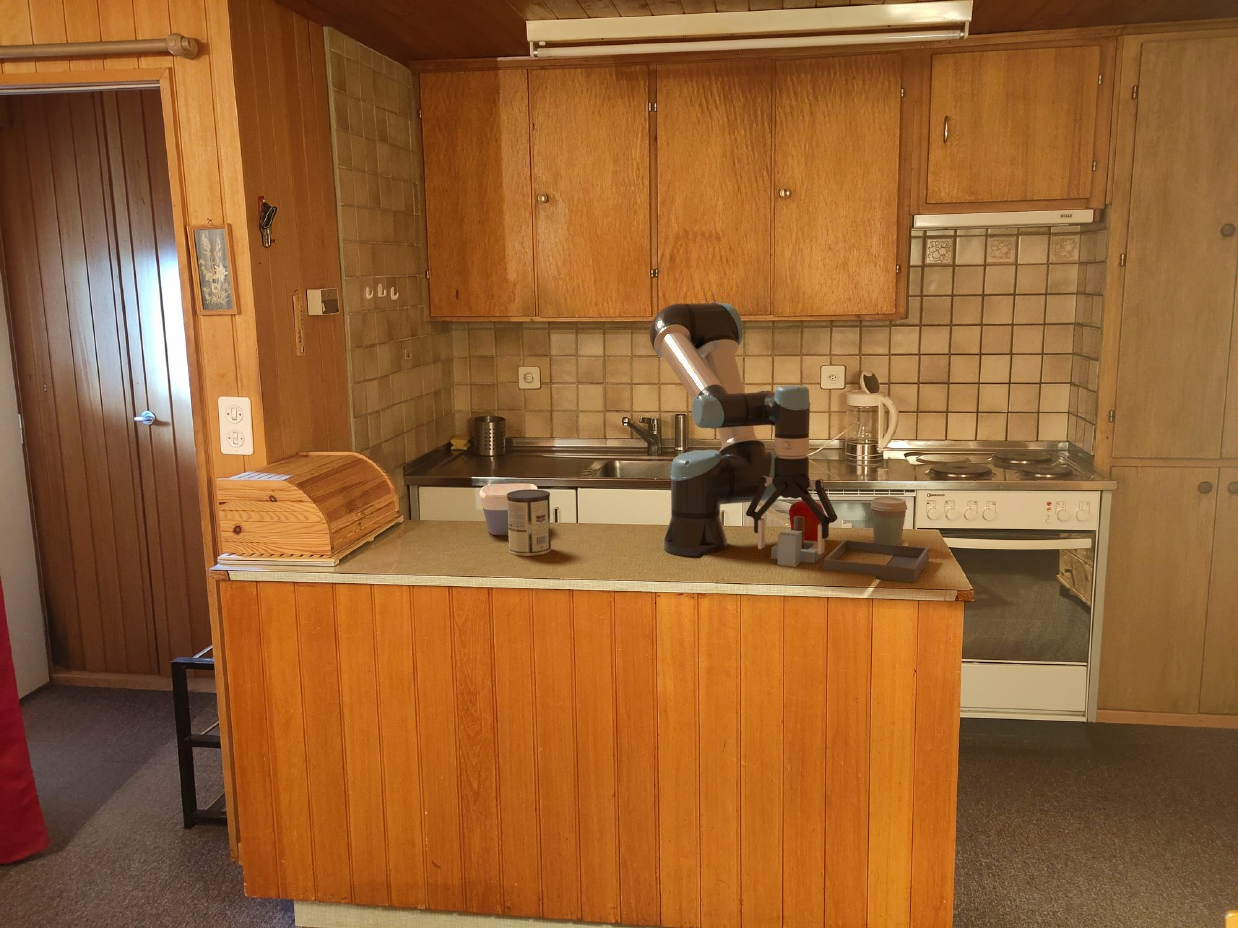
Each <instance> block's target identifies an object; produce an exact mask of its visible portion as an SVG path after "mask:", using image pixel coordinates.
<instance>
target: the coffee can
mask: <svg viewBox="0 0 1238 928" xmlns="http://www.w3.org/2000/svg"><path fill="white" fill-rule="evenodd" d="M550 498H551V492H550V491H548V490H545V489H544V490H543V489H538V490H536V489H528V490H517V491H512V492H509V493H507V504H508V531H509V535H508V552H509V554H511V555H515V556H519V557H520V556H522V557H534V556H535V557H536V556H541V555H546V554H548V553H550V552H551V551H552V543H551V541H552V539H551V534H552V533H551V505H550V504H551V503H550V501H551V500H550Z"/></svg>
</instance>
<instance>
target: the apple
mask: <svg viewBox="0 0 1238 928" xmlns="http://www.w3.org/2000/svg"><path fill="white" fill-rule="evenodd" d="M815 502H816V501H815ZM816 503H817V504H818V505H819V507H820V508H821V509H822V511H823V512H824V513H825V510H824V508H823V505H822V504H820V503H819V502H816ZM788 515H789V525H790V530H794V517H795V516H803V517H805V522H804V540H805V541H816V542H818V525H819V524H820V523H821V522H820V521H819V519H818V518H817V517H816V516H815V514H814V513H813V512H812V511H811V509H810V508H809V507H808V505H807V504H806V503H805V502H804V501H803V500H801V501H800V500H799V501H796V502H794V503H791V504H790V507H789V509H788Z"/></svg>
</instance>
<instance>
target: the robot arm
mask: <svg viewBox="0 0 1238 928" xmlns="http://www.w3.org/2000/svg"><path fill="white" fill-rule="evenodd" d="M743 329H744V325H743V321H742V318H741V315H740V313H739V311H738V310H737V309H736V308H735V306H733V305H731V304H729V303H725V302H724V303H721V302H715V301H714V302H710V303H709V302H708V303H707V302H705V303H680V302H679V303H673V304H670V305H666V306H665V307H664V308H662V309H660V311H659V312H658V313H657V314H656V315H655V316H654V318H653V319H652V322H651V324H650V327H649V340H650V344H651V346H652V349H653V350H654V351H655V352H656V354H657V355H658V356H659V357H660V358H662V359H663V360H666V362H667V363H668V365H669V367H670V368H671V370H672V371H673V372H674V375H675V376H676V377H677V379H678V380H679V381H680V384H681V385H682V386H683V387H684V389H685V391H686V392H687V393H688V395H689V396H690V398H691V400H692V403H691V417H692V419H693V424H694V425H695V426H696V427H697V428H700V429H713V430H716V429H717V432H718V434H719V435H718V436H719V438H720V443H721V447H720V449H719V450H715V449H703V450H702V449H699V450H692V451H687V452H684V453H680V454H679V455H677V456H675V457H674V458H673V460H672V462H671V471H670V489H671V490H670V493H671V495H670V498H671V502H670V503H671V508H670V509H671V511H670V512H671V513H670V514H671V515H670V520H669V524H668V527H667V530H666V533H665V536H664V540H663V549H664V551H665V552H668V553H670V554H673V555H677V556H683V557H705V556H706V555H707V554H709V555H710V554H714V553H719V552H723V551H724V550H726V549H727V548H728V539H727V535H726V533H725V529H724V526H723V523H722V520H721V505H728V504H729V505H732V504H741V503H742V504H743V503H744V504H745V503H749V506H748V507H747V510H746V512H745V515H746V516H747V517H750V518H752V519H753V532H754V533H755V534H757V549H758V550H762V549H763V548H765V546H766V518H764V517H763V516H764V514H765V513H766V512H767V511H768V510H769V509H770V508H771V506H772V505H773V504H774V503H775V502H776V501H777V500H778V499H779V498H780V497H782V498H783V499H789V498H791V499H801V501H804V502H805V503H806V504H807V505H808V507H809V508H810V509H811V511H812V512H813V513H814V514H815V516H816V517H817V518H818V519H819V521H820V522H821V523H820V524H819V525H818V554H822V553H823V552H824V542H825V540H827V539H828V537H829V536H830V535H829V534H830V531H829V530H830V527H829V526H830V524H831V523H832V524H833V523H834V522H835V523H836V521H837V520H838V515H837V513H836V510H835V509H834V506H833V505H832V503H831V500H830V498H829V496H828V494H827V491H826V490H825V487H824V484H825V483H824V479H823V478H818V479H810V473H809V472H810V471H809V469H810V466H809V465H810V458H809V457H808V456H809V454H810V417H811V416H810V413H811V412H810V411H811V410H810V409H811V402H810V390H809V388H808V387H807V386H805V385H791V384H790V385H789V384H788V385H779V386H776V388H775V390H774V391H772V390H759V391H755V392H745V390H744V385H743V383H742V379H741V374H740V370H739V367H738V362H737V358H736V354H737V352H738V350H739V346H740V344H741V343H742V341H743V336H744V331H743ZM755 426H757V427H759V426H773V427H774V452H771V451H767V449H766V445H765V441H762V440H761V439H759V438H757V437H756V431H755V428H754V427H755ZM810 486H812V489H813V490H815V492H816V495H817V497H818V499H819V501H820V503H821V506H822V508H823V510H824V512H823V511H822V509H821V508H820V507H819V505H818V504H817V503H818V502H817V503H816V500H815V499H814V498H813V496H812V494H811V493H810V491H809V490H808V489H809V488H810ZM761 501H762V502H763V501H765V502H764V503H763V505H762V506H761V507H760V508H759V509H758V510H757V508H758V506H759V504H760V502H761ZM756 510H757V511H756Z"/></svg>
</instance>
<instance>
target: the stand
mask: <svg viewBox="0 0 1238 928" xmlns="http://www.w3.org/2000/svg"><path fill="white" fill-rule="evenodd" d="M804 522H805V517H803V516H795V517H794V531H802V546H801V549H804ZM827 554H828V551H825V553H824V554H823V555H822V556H821V557H820V558H819V559H818V560H817V561H816V562H815V563H811V562H802V563H804V564H813V565H816V564H818V562H819V561H821V559H823V558H825V556H826V555H827ZM768 560H775V561H776V560H777V561H778V559H773V558H771V556H770V557H769V558H768Z"/></svg>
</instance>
